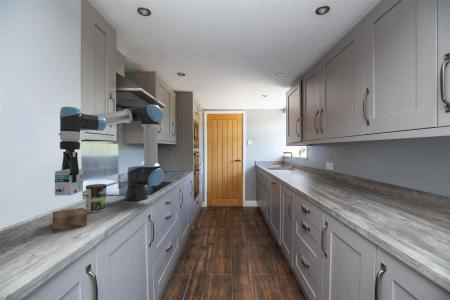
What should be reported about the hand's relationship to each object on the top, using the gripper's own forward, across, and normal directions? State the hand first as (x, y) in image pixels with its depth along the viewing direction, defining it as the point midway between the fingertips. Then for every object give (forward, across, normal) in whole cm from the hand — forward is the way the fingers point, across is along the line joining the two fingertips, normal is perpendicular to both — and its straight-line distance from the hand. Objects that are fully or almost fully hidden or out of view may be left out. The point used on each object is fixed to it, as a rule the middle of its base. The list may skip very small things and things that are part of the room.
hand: (69, 187), depth 94 cm
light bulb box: (+3, 0, 0) cm, 3 cm away
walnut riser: (+17, 0, 0) cm, 17 cm away
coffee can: (+17, -17, +16) cm, 29 cm away
